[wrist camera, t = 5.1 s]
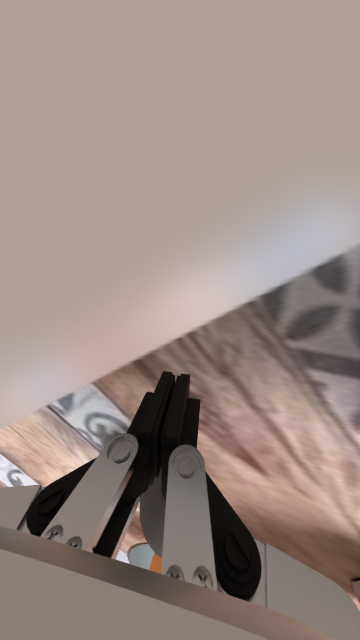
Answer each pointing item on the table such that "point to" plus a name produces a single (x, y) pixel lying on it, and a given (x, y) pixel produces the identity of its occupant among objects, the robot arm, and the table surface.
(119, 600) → the robot arm
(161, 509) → the dark grey ball
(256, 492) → the table surface
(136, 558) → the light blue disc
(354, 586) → the coffee box
